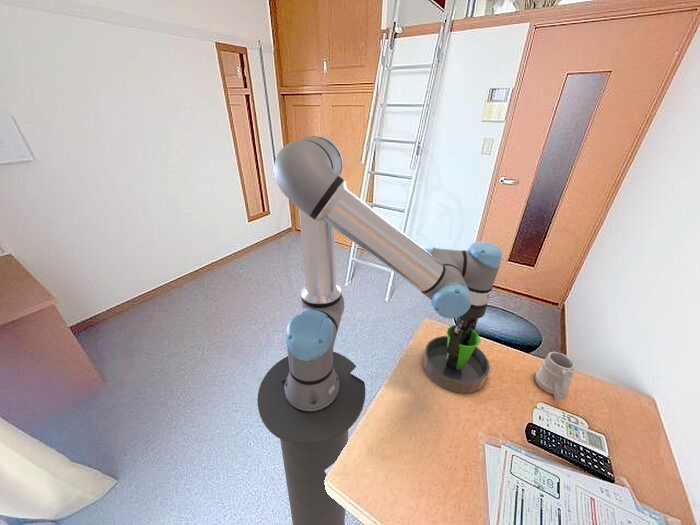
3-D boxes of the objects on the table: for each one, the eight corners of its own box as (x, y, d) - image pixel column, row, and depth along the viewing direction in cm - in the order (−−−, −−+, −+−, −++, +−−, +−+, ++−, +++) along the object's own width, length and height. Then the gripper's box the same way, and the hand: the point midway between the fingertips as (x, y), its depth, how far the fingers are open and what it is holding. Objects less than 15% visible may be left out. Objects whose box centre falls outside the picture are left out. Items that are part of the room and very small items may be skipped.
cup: (434, 360, 87) (440, 333, 82) (451, 347, 92) (458, 320, 87) (460, 380, 81) (469, 351, 76) (477, 365, 86) (486, 337, 81)
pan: (413, 372, 86) (415, 361, 84) (436, 338, 99) (438, 328, 97) (476, 405, 76) (480, 394, 74) (491, 363, 90) (495, 352, 88)
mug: (560, 377, 85) (576, 348, 80) (572, 412, 75) (592, 381, 70) (531, 370, 87) (545, 341, 82) (540, 403, 78) (556, 372, 72)
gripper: (472, 321, 67) (452, 387, 78) (499, 291, 79) (479, 352, 90) (443, 307, 72) (428, 371, 83) (473, 281, 84) (457, 340, 95)
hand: (455, 361), depth 86 cm, fingers closed on cup, 5 cm apart
